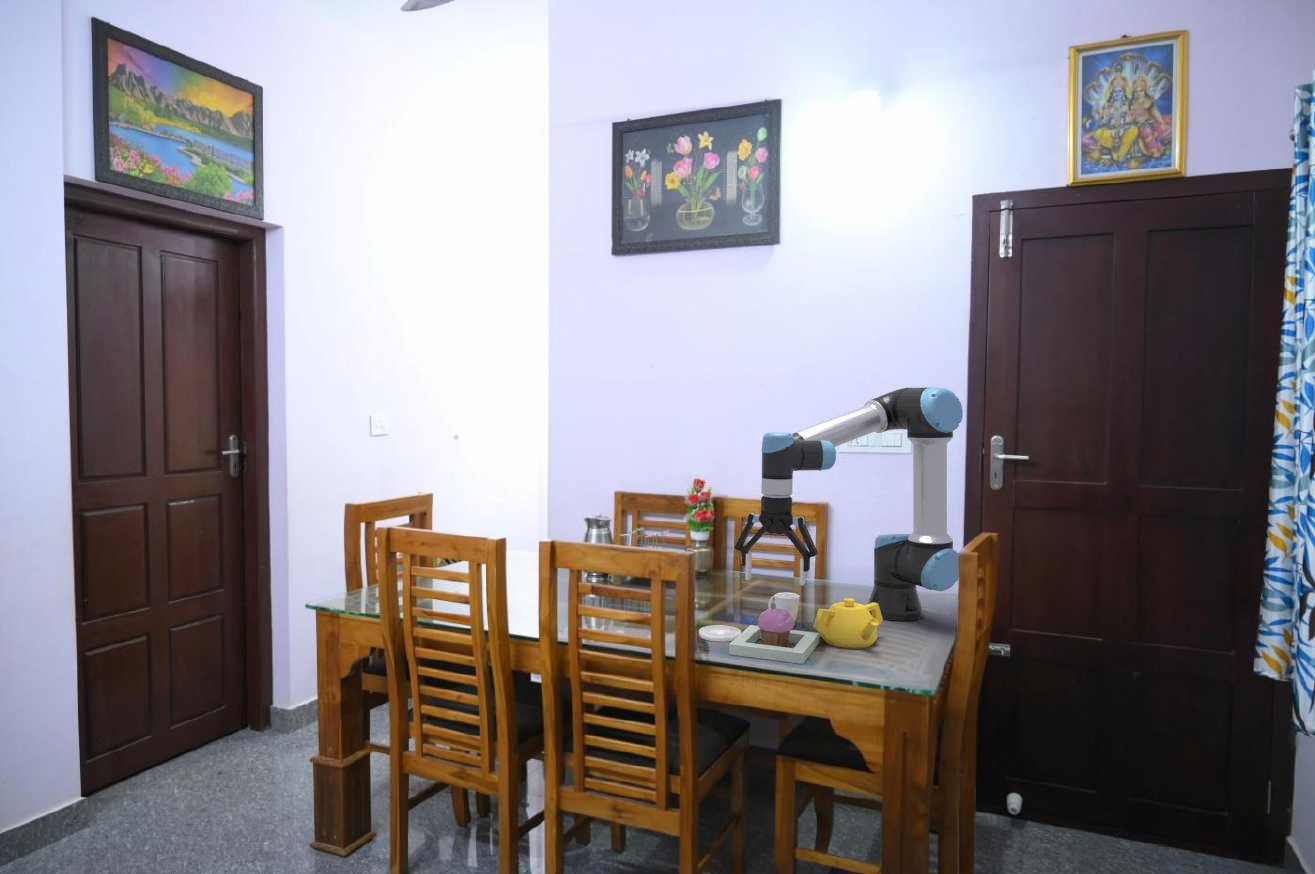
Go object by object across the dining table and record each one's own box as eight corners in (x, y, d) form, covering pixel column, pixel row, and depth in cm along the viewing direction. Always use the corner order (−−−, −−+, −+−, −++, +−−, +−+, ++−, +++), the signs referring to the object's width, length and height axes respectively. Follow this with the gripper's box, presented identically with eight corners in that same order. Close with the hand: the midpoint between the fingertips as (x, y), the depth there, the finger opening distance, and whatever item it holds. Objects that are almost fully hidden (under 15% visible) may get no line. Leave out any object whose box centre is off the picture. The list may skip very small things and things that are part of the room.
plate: (746, 632, 216) (746, 627, 216) (733, 643, 206) (733, 638, 206) (707, 627, 221) (707, 622, 220) (692, 638, 210) (692, 633, 210)
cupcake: (800, 650, 201) (801, 610, 201) (773, 656, 196) (774, 615, 196) (776, 641, 209) (776, 602, 208) (749, 646, 204) (750, 606, 203)
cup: (788, 629, 219) (788, 599, 219) (760, 621, 227) (760, 592, 226) (805, 624, 224) (805, 595, 223) (777, 617, 231) (777, 588, 231)
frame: (819, 642, 207) (819, 633, 207) (802, 663, 191) (802, 653, 191) (750, 634, 214) (750, 625, 214) (728, 654, 198) (729, 644, 198)
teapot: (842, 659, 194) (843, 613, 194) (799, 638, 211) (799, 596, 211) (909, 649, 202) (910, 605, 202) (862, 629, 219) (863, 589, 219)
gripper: (830, 496, 199) (828, 583, 200) (732, 491, 209) (731, 573, 210) (824, 500, 192) (822, 589, 193) (723, 494, 202) (721, 579, 203)
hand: (775, 581), depth 202 cm, fingers open, 13 cm apart
